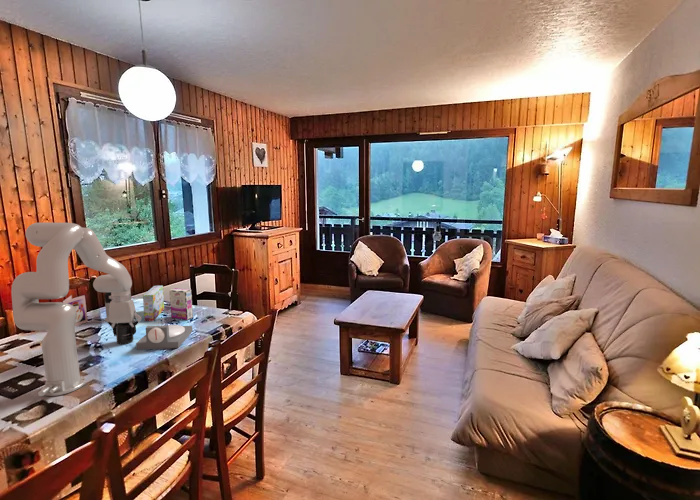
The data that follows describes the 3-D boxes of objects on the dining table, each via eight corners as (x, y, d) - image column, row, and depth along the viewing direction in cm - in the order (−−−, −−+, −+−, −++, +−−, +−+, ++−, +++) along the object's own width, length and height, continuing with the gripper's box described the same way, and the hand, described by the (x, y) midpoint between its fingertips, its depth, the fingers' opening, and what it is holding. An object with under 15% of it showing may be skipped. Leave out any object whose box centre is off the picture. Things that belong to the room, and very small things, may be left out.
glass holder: (113, 316, 206) (110, 290, 204) (137, 317, 205) (135, 291, 203) (102, 321, 197) (99, 295, 195) (127, 322, 197) (125, 295, 194)
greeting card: (67, 329, 186) (64, 301, 184) (56, 328, 188) (53, 300, 185) (88, 322, 197) (85, 295, 194) (78, 320, 199) (75, 294, 196)
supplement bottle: (125, 345, 168) (123, 320, 166) (113, 344, 169) (110, 319, 167) (137, 339, 174) (135, 315, 173) (125, 338, 176) (122, 314, 174)
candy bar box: (193, 317, 206) (192, 289, 203) (187, 320, 201) (185, 291, 198) (177, 315, 209) (175, 287, 206) (170, 318, 204) (168, 289, 201)
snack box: (155, 321, 199) (153, 294, 197) (143, 321, 198) (141, 295, 196) (165, 309, 220) (163, 284, 217) (155, 309, 218) (153, 285, 216)
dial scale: (177, 348, 165) (176, 327, 163) (135, 350, 163) (134, 328, 162) (192, 331, 185) (191, 312, 184) (155, 332, 184) (153, 313, 182)
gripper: (96, 300, 164) (100, 338, 167) (137, 300, 166) (140, 337, 168) (106, 296, 171) (109, 332, 174) (144, 295, 173) (147, 331, 176)
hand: (124, 334), depth 171 cm, fingers closed on supplement bottle, 6 cm apart
